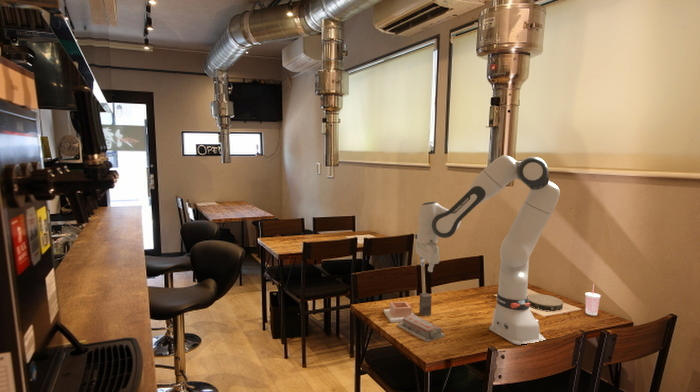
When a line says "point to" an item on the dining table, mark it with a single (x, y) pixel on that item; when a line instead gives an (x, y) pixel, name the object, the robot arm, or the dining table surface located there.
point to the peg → (425, 304)
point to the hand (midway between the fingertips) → (426, 268)
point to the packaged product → (421, 328)
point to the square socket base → (398, 311)
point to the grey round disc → (545, 302)
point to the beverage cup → (592, 302)
